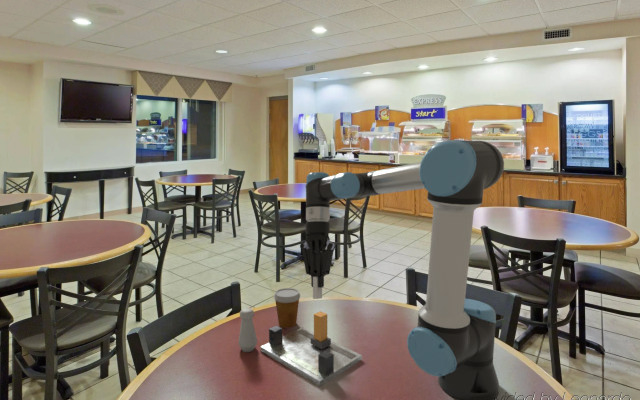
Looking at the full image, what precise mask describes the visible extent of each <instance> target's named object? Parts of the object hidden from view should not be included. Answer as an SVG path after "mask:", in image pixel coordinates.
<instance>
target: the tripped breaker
mask: <svg viewBox="0 0 640 400" xmlns="http://www.w3.org/2000/svg"><path fill="white" fill-rule="evenodd" d="M313 332H314V336H313V337H311V344H313V345H315V346H317V347H318V348H320V349H323V348H325V347H327V346H329V345H331V341H332V338H330V337H328V313H325V312H323V311H321V310H320V311H318V312H316V313H313Z"/></svg>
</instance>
